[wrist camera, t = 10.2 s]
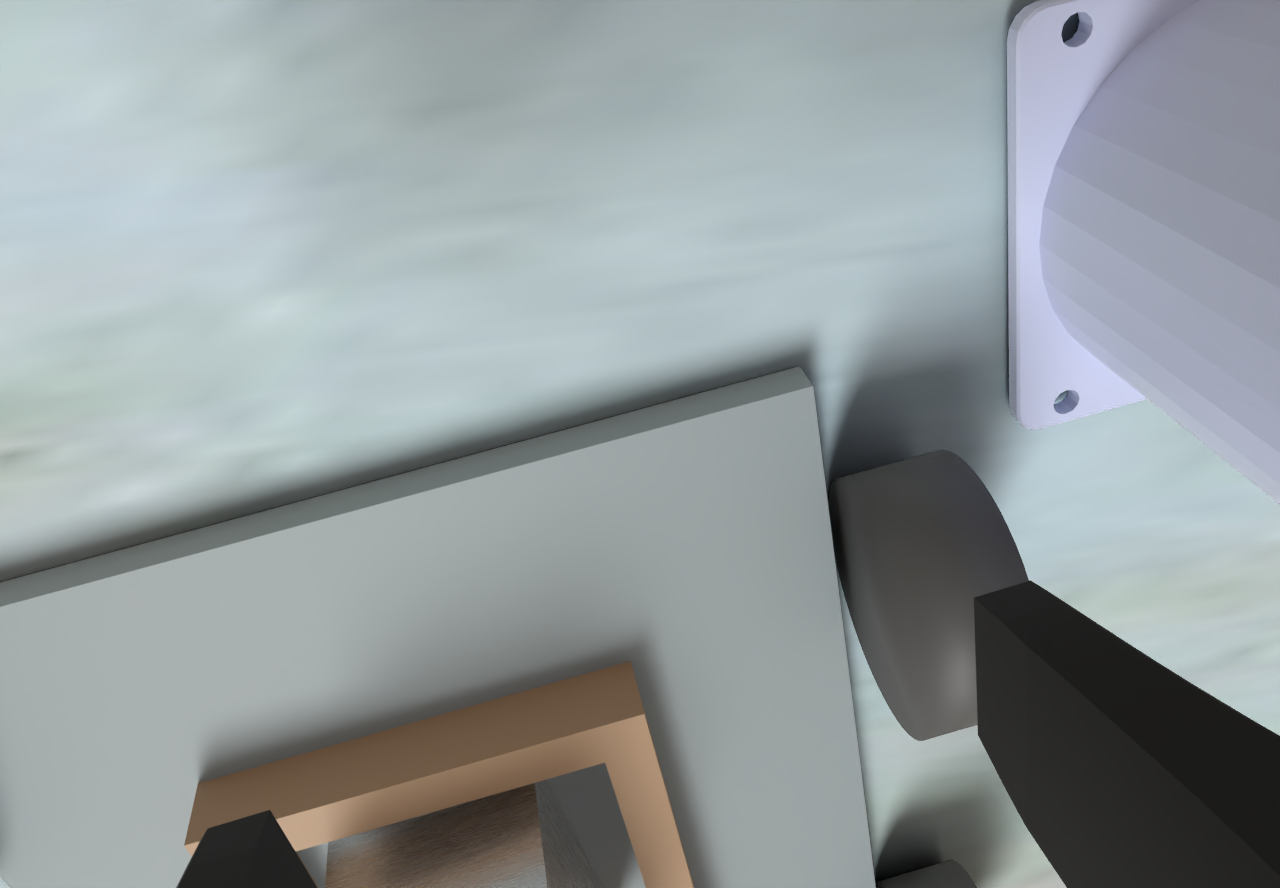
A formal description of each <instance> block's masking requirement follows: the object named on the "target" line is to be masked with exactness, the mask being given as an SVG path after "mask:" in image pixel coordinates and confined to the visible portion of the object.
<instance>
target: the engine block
mask: <svg viewBox="0 0 1280 888" xmlns="http://www.w3.org/2000/svg"><path fill="white" fill-rule="evenodd" d="M325 888H603V886H602V884H601V883H600V881H599V879H598V877H597V875H596V873H595V871H594V869H593V868H592V866H591V864H590V862H589V860H588V858H587V856H586V854H585V852H584V851H583V849H582V847H581V845H580V843H579V841H578V839H577V837H576V835H575V834H574V832H573V830H572V828H571V826H570V824H569V822H568V820H567V818H566V817H565V815H564V813H563V811H562V809H561V807H560V805H559V803H558V801H557V800H556V798H555V796H554V794H553V792H552V790H551V788H550V786H549V784H548V783H547V781H546V780H543V781H539V782H536V783H532V784H529V785H525V786H522V787H518V788H515V789H511V790H508V791H505V792H501V793H498V794H494V795H491V796H487V797H484V798H480V799H477V800H473V801H470V802H466V803H463V804H459V805H456V806H452V807H449V808H445V809H442V810H439V811H435V812H432V813H428V814H425V815H421V816H418V817H414V818H411V819H407V820H404V821H400V822H397V823H393V824H390V825H386V826H383V827H379V828H376V829H372V830H369V831H366V832H362V833H359V834H355V835H352V836H348V837H345V838H341V839H338V840H334V841H331V842H328V853H327V865H326V877H325Z"/></svg>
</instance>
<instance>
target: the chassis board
mask: <svg viewBox="0 0 1280 888" xmlns="http://www.w3.org/2000/svg"><path fill="white" fill-rule="evenodd" d="M834 554H835V556H834ZM835 559H836V564H837V568H838V573H839V577H840V581H841V585H842V588H843V592H844V595H845V599H846V602H847V606H848V609H849V612H850V616H851V619H852V622H853V625H854V628H855V631H856V633H857V636H858V639H859V642H860V644H861V647H862V650H863V652H864V655H865V657H866V660H867V662H868V665H869V667H870V669H871V672H872V674H873V676H874V678H875V680H876V683H877V685H878V687H879V689H880V691H881V693H882V695H883V697H884V699H885V701H886V702H887V704H888V706H889V708H890V709H891V711H892V713H893V714H894V716H895V717H896V719H897V720H898V722H899V723H900V725H901V726H902V727H903V728H904V730H905V731H906V732H907V733H908V734H909V735H910V736H911V737H913V738H914V739H916V740H918V741H923V740H927V739H930V738H933V737H937V736H940V735H944V734H947V733H951V732H954V731H957V730H961V729H964V728H968V727H971V726H975V725H978V718H977V686H976V655H975V623H974V597H977V596H981V595H984V594H987V593H991V592H994V591H997V590H1001V589H1004V588H1007V587H1011V586H1014V585H1017V584H1020V583H1024V582H1027V581H1029V580H1028V577H1027V574H1026V571H1025V568H1024V565H1023V562H1022V559H1021V557H1020V554H1019V552H1018V549H1017V546H1016V544H1015V542H1014V539H1013V537H1012V535H1011V533H1010V530H1009V528H1008V526H1007V524H1006V522H1005V520H1004V518H1003V516H1002V514H1001V512H1000V510H999V508H998V507H997V505H996V503H995V501H994V500H993V498H992V496H991V495H990V493H989V492H988V490H987V489H986V487H985V485H984V484H983V482H982V481H981V480H980V479H979V477H978V476H977V475H976V473H975V472H974V471H973V470H972V469H971V468H970V467H969V466H968V465H967V463H966V462H964V461H963V460H962V459H961V458H960V457H958V456H957V455H955V454H953V453H952V452H949V451H946V450H938V451H935V452H931V453H927V454H924V455H920V456H916V457H913V458H909V459H906V460H902V461H898V462H895V463H891V464H888V465H884V466H880V467H877V468H873V469H869V470H866V471H862V472H859V473H855V474H851V475H848V476H844V477H841V478H837V479H836V480H834V482H833V484H832V486H831V489H830V495H829V508H828V500H827V492H826V484H825V476H824V468H823V460H822V452H821V444H820V436H819V428H818V420H817V412H816V404H815V396H814V388H813V385H812V383H811V382H810V381H809V379H808V378H807V376H806V375H805V373H804V372H803V371H802V369H801V368H800V366H799V367H795V368H791V369H787V370H784V371H780V372H776V373H773V374H769V375H765V376H762V377H758V378H754V379H750V380H747V381H743V382H739V383H736V384H732V385H728V386H725V387H721V388H717V389H713V390H710V391H706V392H702V393H699V394H695V395H691V396H688V397H684V398H680V399H676V400H673V401H669V402H665V403H662V404H658V405H654V406H651V407H647V408H643V409H640V410H636V411H632V412H628V413H625V414H621V415H617V416H614V417H610V418H606V419H603V420H599V421H595V422H591V423H588V424H584V425H580V426H577V427H573V428H569V429H566V430H562V431H558V432H554V433H551V434H547V435H543V436H540V437H536V438H532V439H529V440H525V441H521V442H518V443H514V444H510V445H506V446H503V447H499V448H495V449H492V450H488V451H484V452H481V453H477V454H473V455H469V456H466V457H462V458H458V459H455V460H451V461H447V462H444V463H440V464H436V465H432V466H429V467H425V468H421V469H418V470H414V471H410V472H407V473H403V474H399V475H396V476H392V477H388V478H384V479H381V480H377V481H373V482H370V483H366V484H362V485H359V486H355V487H351V488H347V489H344V490H340V491H336V492H333V493H329V494H325V495H322V496H318V497H314V498H310V499H307V500H303V501H299V502H296V503H292V504H288V505H285V506H281V507H277V508H273V509H270V510H266V511H262V512H259V513H255V514H251V515H248V516H244V517H240V518H237V519H233V520H229V521H225V522H222V523H218V524H214V525H211V526H207V527H203V528H200V529H196V530H192V531H188V532H185V533H181V534H177V535H174V536H170V537H166V538H163V539H159V540H155V541H151V542H148V543H144V544H140V545H137V546H133V547H129V548H126V549H122V550H118V551H115V552H111V553H107V554H103V555H100V556H96V557H92V558H89V559H85V560H81V561H78V562H74V563H70V564H66V565H63V566H59V567H55V568H52V569H48V570H44V571H41V572H37V573H33V574H29V575H26V576H22V577H18V578H15V579H11V580H7V581H4V582H0V877H1V878H2V879H3V880H4V881H5V882H6V883H7V885H8V886H9V887H10V888H176V887H177V885H178V883H179V881H180V879H181V877H182V875H183V873H184V871H185V869H186V867H187V865H188V863H189V862H190V860H191V858H192V856H193V854H194V852H195V850H196V848H197V846H198V844H199V842H200V840H201V839H202V837H203V835H204V834H205V832H206V830H207V829H208V828H211V827H214V826H217V825H221V824H224V823H227V822H231V821H234V820H237V819H241V818H244V817H247V816H251V815H254V814H257V813H261V812H264V811H267V810H270V811H271V812H272V814H273V816H274V817H275V819H276V820H277V822H278V824H279V825H280V827H281V829H282V830H283V832H284V834H285V835H286V837H287V839H288V840H289V842H290V843H291V845H292V847H293V848H294V850H295V852H296V853H297V855H298V857H299V858H300V860H301V861H302V863H303V865H304V866H305V868H306V870H307V871H308V873H309V875H310V876H311V878H312V880H313V881H314V883H315V884H316V886H317V888H325V877H326V865H327V853H328V842H331V841H334V840H338V839H341V838H345V837H348V836H352V835H355V834H359V833H362V832H366V831H369V830H372V829H376V828H379V827H383V826H386V825H390V824H393V823H397V822H400V821H404V820H407V819H411V818H414V817H418V816H421V815H425V814H428V813H432V812H435V811H439V810H442V809H445V808H449V807H452V806H456V805H459V804H463V803H466V802H470V801H473V800H477V799H480V798H484V797H487V796H491V795H494V794H498V793H501V792H505V791H508V790H511V789H515V788H518V787H522V786H525V785H529V784H532V783H536V782H539V781H543V780H546V781H547V783H548V784H549V786H550V788H551V790H552V792H553V794H554V796H555V798H556V800H557V801H558V803H559V805H560V807H561V809H562V811H563V813H564V815H565V817H566V818H567V820H568V822H569V824H570V826H571V828H572V830H573V832H574V834H575V835H576V837H577V839H578V841H579V843H580V845H581V847H582V849H583V851H584V852H585V854H586V856H587V858H588V860H589V862H590V864H591V866H592V868H593V869H594V871H595V873H596V875H597V877H598V879H599V881H600V883H601V884H602V886H603V888H977V887H976V885H975V884H974V882H973V881H972V879H971V878H970V876H969V875H968V874H967V872H966V871H965V870H964V869H963V868H962V866H961V865H960V864H958V863H957V862H956V861H954V860H949V861H945V862H942V863H939V864H935V865H932V866H929V867H925V868H922V869H919V870H915V871H912V872H909V873H905V874H902V875H898V876H895V877H892V878H888V879H885V880H882V881H878V882H877V884H876V885H875V877H874V869H873V861H872V853H871V845H870V837H869V829H868V821H867V813H866V805H865V797H864V789H863V781H862V773H861V765H860V757H859V749H858V741H857V733H856V725H855V717H854V709H853V701H852V693H851V685H850V677H849V669H848V661H847V653H846V645H845V636H844V628H843V620H842V612H841V604H840V596H839V588H838V580H837V572H836V564H835Z"/></svg>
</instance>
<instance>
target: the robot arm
mask: <svg viewBox="0 0 1280 888" xmlns="http://www.w3.org/2000/svg"><path fill="white" fill-rule="evenodd" d="M1075 13H1078V16H1079V21H1080V22H1079V26H1078V30H1077V32H1076V33H1075V34H1074V36H1073V37H1072V38H1071V39H1070V40H1068V41H1066V42H1064V43H1063V40H1062V36H1061V33H1062V29H1063V25H1064V23H1065V22H1066V21H1067V19H1068V18H1069V17H1070V16H1072V15H1073V14H1075ZM1007 130H1008V289H1009V408H1010V412H1011V415H1012V416H1013V417H1014V418H1015V419H1016V420H1017V421H1018V422H1019V423H1020V424H1021V425H1022V426H1023V427H1024V428H1028V429H1031V430H1034V429H1042V428H1045V427H1049V426H1053V425H1056V424H1060V423H1063V422H1067V421H1071V420H1074V419H1078V418H1081V417H1085V416H1089V415H1092V414H1096V413H1099V412H1103V411H1107V410H1110V409H1114V408H1117V407H1121V406H1125V405H1128V404H1132V403H1136V402H1139V401H1143V400H1146V399H1148V400H1149V401H1150V402H1152V403H1153V404H1154V405H1155V406H1157V407H1158V408H1159V409H1161V410H1162V411H1163V412H1164V413H1166V414H1167V415H1168V416H1169V417H1171V418H1172V419H1173V420H1174V421H1176V422H1177V423H1178V424H1179V425H1181V426H1182V427H1183V428H1184V429H1186V430H1187V431H1188V432H1189V433H1191V434H1192V435H1193V436H1194V437H1196V438H1197V439H1198V440H1199V441H1201V442H1202V443H1203V444H1204V445H1206V446H1207V447H1208V448H1209V449H1211V450H1212V451H1213V452H1214V453H1216V454H1217V455H1218V456H1220V457H1221V458H1222V459H1223V460H1225V461H1226V462H1227V463H1228V464H1230V465H1231V466H1232V467H1233V468H1235V469H1236V470H1237V471H1238V472H1240V473H1241V474H1242V475H1243V476H1245V477H1246V478H1247V479H1248V480H1250V481H1251V482H1252V483H1253V484H1255V485H1256V486H1257V487H1258V488H1260V489H1261V490H1262V491H1263V492H1265V493H1266V494H1267V495H1268V496H1270V497H1271V498H1272V499H1273V500H1275V501H1276V502H1277V503H1279V504H1280V0H1039V1H1036V2H1034V3H1031V4H1029V5H1027V6H1025V7H1024V8H1023V9H1022V10H1021V11H1020V12H1019V13H1018V14H1017V15H1016V16H1015V18H1014V20H1013V22H1012V24H1011V26H1010V28H1009V32H1008V38H1007ZM1066 390H1068V393H1067V396H1066V397H1065V398H1064V399H1063V400H1062V401H1060V402H1058V403H1056V404H1054V402H1055V399H1056V398H1057V397H1058V396H1059V394H1061V393H1062V392H1064V391H1066ZM974 623H975V655H976V686H977V718H978V736H979V738H980V740H981V742H982V744H983V745H984V747H985V749H986V751H987V753H988V755H989V757H990V759H991V761H992V763H993V765H994V767H995V769H996V771H997V773H998V775H999V777H1000V779H1001V781H1002V783H1003V785H1004V787H1005V788H1006V790H1007V792H1008V794H1009V796H1010V798H1011V800H1012V801H1013V803H1014V805H1015V807H1016V809H1017V811H1018V813H1019V814H1020V816H1021V818H1022V820H1023V822H1024V824H1025V826H1026V827H1027V829H1028V830H1029V832H1030V833H1031V835H1032V836H1033V838H1034V839H1035V841H1036V842H1037V844H1038V845H1039V847H1040V848H1041V850H1042V851H1043V853H1044V854H1045V856H1046V857H1047V859H1048V860H1049V862H1050V863H1051V865H1052V866H1053V868H1054V869H1055V871H1056V872H1057V873H1058V875H1059V876H1060V878H1061V879H1062V881H1063V882H1064V884H1065V885H1066V887H1067V888H1280V736H1279V735H1277V734H1275V733H1274V732H1272V731H1270V730H1269V729H1267V728H1265V727H1263V726H1262V725H1260V724H1258V723H1256V722H1255V721H1253V720H1251V719H1250V718H1248V717H1246V716H1245V715H1243V714H1241V713H1240V712H1238V711H1236V710H1235V709H1233V708H1231V707H1230V706H1228V705H1226V704H1225V703H1223V702H1221V701H1220V700H1218V699H1216V698H1215V697H1213V696H1211V695H1210V694H1208V693H1206V692H1205V691H1203V690H1201V689H1200V688H1198V687H1196V686H1195V685H1193V684H1191V683H1190V682H1188V681H1187V680H1185V679H1183V678H1182V677H1180V676H1179V675H1177V674H1175V673H1174V672H1172V671H1171V670H1169V669H1167V668H1166V667H1164V666H1163V665H1161V664H1159V663H1158V662H1156V661H1155V660H1153V659H1152V658H1150V657H1148V656H1147V655H1145V654H1144V653H1142V652H1141V651H1139V650H1137V649H1136V648H1134V647H1133V646H1131V645H1130V644H1128V643H1127V642H1125V641H1123V640H1122V639H1120V638H1119V637H1117V636H1116V635H1114V634H1113V633H1111V632H1110V631H1108V630H1106V629H1105V628H1103V627H1102V626H1100V625H1099V624H1097V623H1096V622H1094V621H1093V620H1091V619H1090V618H1088V617H1087V616H1085V615H1084V614H1082V613H1080V612H1079V611H1077V610H1076V609H1074V608H1073V607H1071V606H1070V605H1068V604H1067V603H1065V602H1064V601H1062V600H1061V599H1059V598H1057V597H1056V596H1054V595H1053V594H1051V593H1050V592H1048V591H1047V590H1045V589H1043V588H1042V587H1040V586H1039V585H1037V584H1035V583H1034V582H1032V581H1027V582H1024V583H1020V584H1017V585H1014V586H1011V587H1007V588H1004V589H1001V590H997V591H994V592H991V593H987V594H984V595H981V596H977V597H974ZM176 888H317V886H316V884H315V883H314V881H313V880H312V878H311V876H310V875H309V873H308V871H307V870H306V868H305V866H304V865H303V863H302V861H301V860H300V858H299V857H298V855H297V853H296V852H295V850H294V848H293V847H292V845H291V843H290V842H289V840H288V839H287V837H286V835H285V834H284V832H283V830H282V829H281V827H280V825H279V824H278V822H277V820H276V819H275V817H274V816H273V814H272V812H271V811H270V810H267V811H264V812H261V813H257V814H254V815H251V816H247V817H244V818H241V819H237V820H234V821H231V822H227V823H224V824H221V825H217V826H214V827H211V828H208V829H207V830H206V832H205V834H204V835H203V837H202V839H201V840H200V842H199V844H198V846H197V848H196V850H195V852H194V854H193V856H192V858H191V860H190V862H189V863H188V865H187V867H186V869H185V871H184V873H183V875H182V877H181V879H180V881H179V883H178V885H177V887H176Z"/></svg>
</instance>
